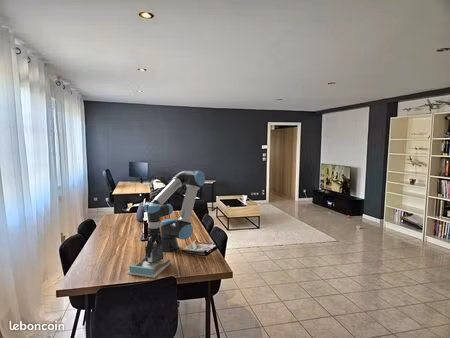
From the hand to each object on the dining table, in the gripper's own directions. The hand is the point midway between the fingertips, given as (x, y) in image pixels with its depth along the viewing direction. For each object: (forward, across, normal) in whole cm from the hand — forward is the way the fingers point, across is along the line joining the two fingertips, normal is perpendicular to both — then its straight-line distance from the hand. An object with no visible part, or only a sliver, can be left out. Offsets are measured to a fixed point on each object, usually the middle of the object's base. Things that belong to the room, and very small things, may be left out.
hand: (154, 258), depth 192 cm
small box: (+2, 0, 0) cm, 2 cm away
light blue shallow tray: (+4, +7, 0) cm, 8 cm away
